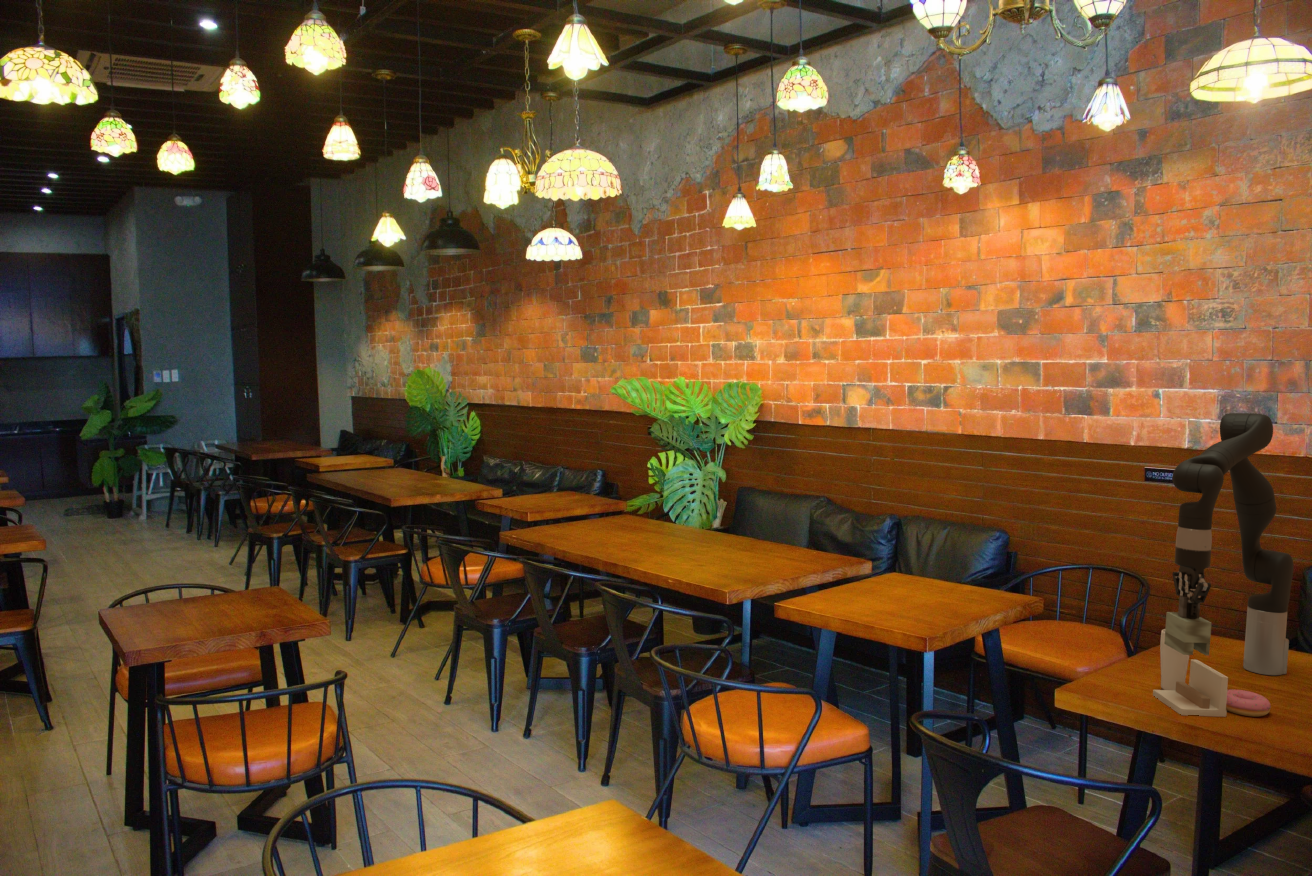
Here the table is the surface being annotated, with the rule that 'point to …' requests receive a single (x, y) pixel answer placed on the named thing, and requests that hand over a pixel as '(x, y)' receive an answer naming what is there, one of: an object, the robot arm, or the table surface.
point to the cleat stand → (1198, 693)
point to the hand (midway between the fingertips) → (1188, 616)
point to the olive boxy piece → (1187, 631)
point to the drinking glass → (1172, 665)
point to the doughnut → (1247, 703)
